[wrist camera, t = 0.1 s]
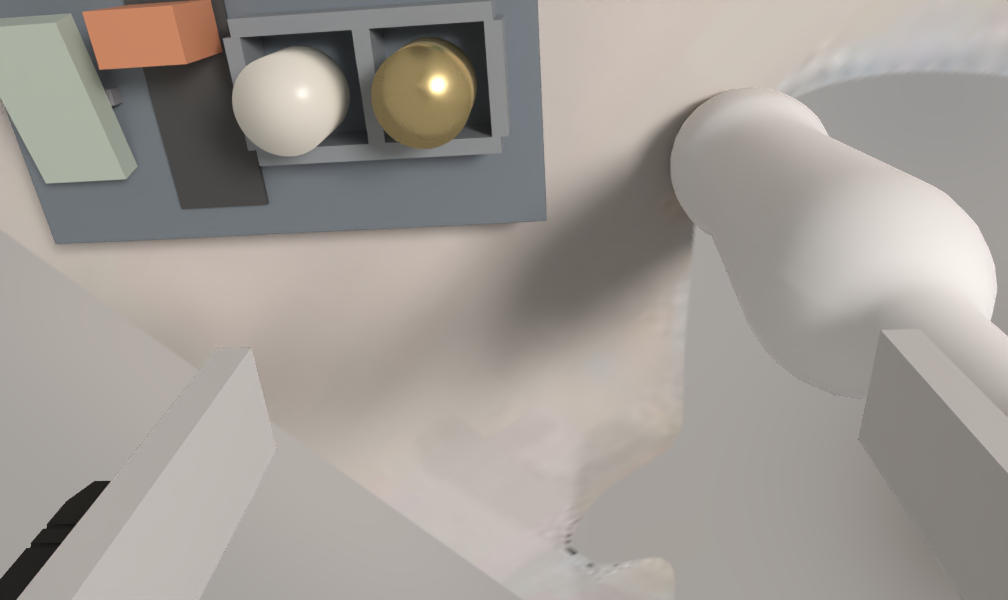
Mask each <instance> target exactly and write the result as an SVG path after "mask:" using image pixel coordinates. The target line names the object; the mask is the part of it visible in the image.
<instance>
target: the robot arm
mask: <svg viewBox="0 0 1008 600" xmlns="http://www.w3.org/2000/svg"><path fill="white" fill-rule="evenodd" d="M858 440H859V441H860V442H861V444H862V446H863V447H864V449H865V450H866V452H867V453H868V455H869V457H870V458H871V460H872V461H873V463H874V464H875V466H876V467H877V469H878V471H879V472H880V474H881V475H882V477H883V478H884V480H885V481H886V483H887V484H888V486H889V487H890V489H891V491H892V492H893V494H894V495H895V497H896V498H897V500H898V502H899V503H900V504H901V506H902V508H903V509H904V510H905V512H906V514H907V515H908V517H909V519H910V520H911V522H912V523H913V525H914V526H915V528H916V529H917V531H918V532H919V534H920V536H921V537H922V539H923V540H924V542H925V543H926V545H927V546H928V548H929V550H930V551H931V553H932V554H933V555H934V557H935V559H936V560H937V562H938V563H939V565H940V566H941V568H942V570H943V571H944V573H945V574H946V576H947V577H948V579H949V581H950V582H951V584H952V585H953V587H954V588H955V590H956V591H957V593H958V594H959V596H960V597H961V599H962V600H1008V418H1007V417H1006V416H1005V415H1004V414H1003V413H1002V412H1001V410H1000V409H999V408H998V407H997V406H996V405H995V404H994V403H993V402H992V401H991V400H990V399H989V398H988V397H987V396H986V395H985V394H984V393H983V392H982V391H981V390H980V389H979V388H978V387H977V386H976V385H975V384H974V383H973V382H972V381H971V380H970V379H969V378H968V377H967V376H966V375H965V374H964V373H963V372H962V371H961V370H960V369H959V368H958V367H957V366H956V365H955V364H954V363H953V362H952V361H951V360H950V359H949V358H948V357H947V356H946V355H945V354H944V353H943V352H942V351H941V350H940V349H939V348H938V347H937V346H936V345H935V344H934V343H933V342H932V341H931V340H930V339H929V338H928V337H927V336H926V335H925V334H924V333H923V332H922V331H921V330H920V329H894V330H880V335H879V340H878V345H877V350H876V355H875V360H874V365H873V370H872V375H871V380H870V385H869V389H868V394H867V399H866V404H865V409H864V414H863V419H862V424H861V429H860V434H859V439H858ZM276 450H277V449H276V445H275V441H274V437H273V432H272V428H271V424H270V420H269V416H268V412H267V408H266V404H265V400H264V396H263V392H262V388H261V384H260V380H259V376H258V372H257V368H256V363H255V359H254V355H253V351H252V347H247V348H217V349H216V350H215V351H214V353H213V354H212V355H211V356H210V358H209V359H208V360H207V361H206V363H205V364H204V365H203V366H202V368H201V369H200V370H199V371H198V373H197V374H196V375H195V376H194V378H193V379H192V380H191V382H190V383H189V384H188V385H187V387H186V388H185V389H184V390H183V392H182V393H181V394H180V395H179V397H178V398H177V399H176V400H175V402H174V403H173V404H172V405H171V407H170V408H169V409H168V410H167V412H166V413H165V414H164V415H163V417H162V418H161V419H160V420H159V422H158V423H157V424H156V425H155V427H154V428H153V429H152V430H151V432H150V433H149V434H148V435H147V437H146V438H145V439H144V441H143V442H142V443H141V444H140V445H139V447H138V448H137V449H136V450H135V452H134V453H133V454H132V455H131V457H130V458H129V459H128V461H127V462H126V463H125V464H124V466H123V467H122V468H121V470H120V471H119V472H118V473H117V474H116V476H115V477H114V478H113V479H112V481H94V482H93V483H91V484H90V485H88V486H87V487H86V488H84V489H83V490H81V491H80V492H79V493H77V494H76V495H75V496H74V497H72V498H70V499H69V500H68V501H66V502H65V504H64V505H63V506H62V507H61V508H60V509H59V511H58V512H57V513H56V514H55V515H54V517H53V518H52V519H51V520H50V521H49V523H48V524H47V528H46V529H43V530H42V531H41V532H40V533H39V534H38V536H37V537H36V538H35V539H34V540H33V541H32V542H31V547H30V548H26V550H25V551H24V552H23V553H22V554H21V555H20V557H19V558H18V559H17V560H16V562H15V563H14V564H13V565H12V566H11V567H10V568H9V570H8V571H7V572H6V573H5V574H4V576H3V577H2V578H1V579H0V600H199V599H200V597H201V595H202V593H203V592H204V590H205V588H206V586H207V584H208V582H209V580H210V578H211V576H212V574H213V572H214V570H215V568H216V566H217V565H218V563H219V561H220V559H221V557H222V555H223V553H224V551H225V549H226V547H227V545H228V543H229V541H230V539H231V538H232V535H233V534H234V532H235V530H236V528H237V526H238V524H239V522H240V520H241V518H242V516H243V514H244V512H245V511H246V509H247V506H248V505H249V503H250V501H251V499H252V497H253V495H254V493H255V491H256V489H257V487H258V485H259V484H260V482H261V480H262V478H263V476H264V474H265V472H266V470H267V468H268V466H269V464H270V462H271V460H272V458H273V457H274V455H275V453H276Z"/></svg>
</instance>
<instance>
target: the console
mask: <svg viewBox="0 0 1008 600" xmlns="http://www.w3.org/2000/svg"><path fill="white" fill-rule="evenodd" d="M176 1H190V0H0V18H11V17H25V16H39V15H53V14H67V13H71V15H72V17H73V19H74V21H75V24H76V26H77V28H78V31H79V33H80V35H81V38H82V40H83V42H84V44H85V47H86V49H87V51H88V54H89V56H90V58H91V60H92V63H93V65H94V67H95V70H96V72H97V74H98V76H99V79H100V81H101V83H102V86H103V88H104V90H105V93H106V95H107V97H108V99H109V102H110V104H111V106H112V109H113V111H114V113H115V115H116V118H117V120H118V122H119V125H120V127H121V129H122V132H123V134H124V136H125V138H126V141H127V143H128V145H129V148H130V150H131V152H132V154H133V157H134V159H135V161H136V164H137V166H138V167H137V168H136V169H135V170H134V171H133V172H132V173H131V175H130V176H129V177H128V178H127V179H122V180H103V181H84V182H66V183H47V184H46V183H45V181H44V179H43V177H42V175H41V173H40V171H39V169H38V168H37V166H36V164H35V162H34V160H33V158H32V156H31V154H30V153H29V151H28V149H27V147H26V145H25V143H24V141H23V139H22V138H21V136H20V134H19V132H18V130H17V128H16V126H15V124H14V123H13V121H12V119H11V117H10V115H9V113H8V111H7V109H6V111H7V114H8V116H9V119H10V122H11V124H12V127H13V130H14V133H15V135H16V138H17V141H18V143H19V146H20V149H21V151H22V154H23V157H24V160H25V162H26V165H27V168H28V170H29V173H30V176H31V178H32V181H33V184H34V186H35V189H36V192H37V195H38V197H39V200H40V203H41V205H42V208H43V211H44V213H45V216H46V219H47V222H48V224H49V227H50V230H51V232H52V235H53V238H54V240H55V243H56V244H71V243H92V242H113V241H135V240H156V239H177V238H198V237H219V236H240V235H261V234H282V233H304V232H325V231H346V230H367V229H388V228H409V227H430V226H451V225H472V224H494V223H515V222H536V221H546V191H545V167H544V143H543V120H542V96H541V72H540V48H539V24H538V0H211V4H212V8H213V12H214V17H215V21H216V25H217V30H218V34H219V38H220V43H221V47H222V51H223V52H221V53H218V54H215V55H212V56H209V57H206V58H203V59H200V60H197V61H194V62H191V63H188V64H181V65H165V66H150V67H134V68H119V69H103V70H100V69H99V66H98V63H97V59H96V56H95V53H94V50H93V46H92V43H91V40H90V36H89V33H88V30H87V27H86V23H85V20H84V17H83V14H82V12H84V11H91V10H98V9H104V8H111V7H118V6H125V5H134V4H148V3H162V2H176ZM423 37H437V38H441V39H445V40H447V41H449V42H451V43H453V44H455V45H456V46H458V47H459V48H460V49H461V50H462V51H463V52H464V53H465V54H466V55H467V57H468V58H469V59H470V61H471V63H472V65H473V67H474V70H475V73H476V77H477V95H476V99H475V102H474V104H473V107H472V109H471V112H470V114H469V117H468V119H467V122H466V124H465V125H464V127H463V129H462V130H461V131H460V133H459V134H458V135H457V136H456V137H455V138H454V139H452V140H451V141H450V142H448V143H446V144H444V145H442V146H440V147H436V148H431V149H417V148H412V147H408V146H406V145H403V144H401V143H399V142H398V141H396V140H394V139H393V138H392V137H391V136H389V135H388V134H387V133H386V132H385V130H384V129H383V128H382V127H381V125H380V124H379V122H378V120H377V118H376V116H375V113H374V110H373V107H372V101H371V89H372V83H373V80H374V77H375V74H376V72H377V70H378V69H379V67H380V66H381V64H382V63H383V62H384V61H385V60H386V59H387V58H388V57H390V56H391V55H392V54H393V53H395V52H396V51H397V50H399V49H400V48H401V47H403V46H404V45H406V44H407V43H409V42H411V41H413V40H415V39H418V38H423ZM290 46H309V47H313V48H316V49H318V50H320V51H322V52H324V53H326V54H327V55H328V56H330V57H331V58H332V59H333V60H334V61H335V62H336V63H337V64H338V65H339V67H340V68H341V70H342V71H343V73H344V75H345V77H346V79H347V82H348V86H349V91H350V104H349V109H348V112H347V114H346V117H345V119H344V120H343V122H342V123H341V124H340V125H339V126H338V127H337V128H336V129H335V130H334V131H333V132H332V133H331V134H330V135H328V136H327V137H326V138H325V139H324V140H323V141H322V142H321V143H320V144H319V145H317V146H316V147H315V148H314V149H312V150H311V151H309V152H307V153H305V154H302V155H298V156H278V155H275V154H272V153H269V152H267V151H265V150H263V149H261V148H259V147H258V146H257V145H255V144H254V143H253V142H252V141H251V140H250V139H249V138H248V137H247V136H246V135H245V134H244V132H243V131H242V130H241V128H240V126H239V124H238V122H237V120H236V118H235V115H234V111H233V105H232V93H233V87H234V84H235V81H236V79H237V77H238V75H239V74H240V73H241V71H242V70H243V69H244V68H245V67H246V66H247V65H248V64H250V63H251V62H253V61H255V60H257V59H259V58H262V57H264V56H267V55H269V54H272V53H274V52H277V51H279V50H282V49H284V48H287V47H290Z"/></svg>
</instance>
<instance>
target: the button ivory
mask: <svg viewBox="0 0 1008 600" xmlns="http://www.w3.org/2000/svg"><path fill="white" fill-rule="evenodd" d="M349 104H350V91H349V86H348V82H347V79H346V77H345V75H344V73H343V71H342V70H341V68H340V67H339V65H338V64H337V63H336V62H335V61H334V60H333V59H332V58H331V57H330V56H328V55H327V54H326V53H324V52H322V51H320V50H318V49H316V48H313V47H309V46H290V47H287V48H284V49H282V50H279V51H277V52H274V53H272V54H269V55H267V56H264V57H262V58H259V59H257V60H255V61H253V62H251V63H250V64H248V65H247V66H246V67H245V68H244V69H243V70H242V71H241V73H240V74H239V75H238V77H237V79H236V81H235V84H234V87H233V93H232V105H233V111H234V115H235V118H236V120H237V122H238V124H239V126H240V128H241V130H242V131H243V132H244V134H245V135H246V136H247V137H248V138H249V139H250V140H251V141H252V142H253V143H254V144H255V145H257V146H258V147H259V148H261V149H263V150H265V151H267V152H269V153H272V154H275V155H278V156H298V155H302V154H305V153H307V152H309V151H311V150H312V149H314V148H315V147H316V146H317V145H319V144H320V143H321V142H322V141H323V140H324V139H325V138H326V137H327V136H328V135H330V134H331V133H332V132H333V131H334V130H335V129H336V128H337V127H338V126H339V125H340V124H341V123H342V122H343V120H344V119H345V117H346V114H347V112H348V109H349Z"/></svg>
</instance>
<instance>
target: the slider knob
mask: <svg viewBox="0 0 1008 600" xmlns="http://www.w3.org/2000/svg"><path fill="white" fill-rule="evenodd" d="M82 14H83V17H84V20H85V23H86V27H87V30H88V33H89V36H90V40H91V43H92V46H93V50H94V53H95V56H96V59H97V63H98V66H99V69H100V70H103V69H119V68H134V67H150V66H165V65H181V64H188V63H191V62H194V61H197V60H200V59H203V58H206V57H209V56H212V55H215V54H218V53H221V52H223V51H222V47H221V43H220V38H219V34H218V30H217V25H216V21H215V17H214V12H213V8H212V4H211V0H190V1H176V2H162V3H148V4H134V5H125V6H118V7H111V8H104V9H98V10H91V11H84V12H82Z"/></svg>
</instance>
